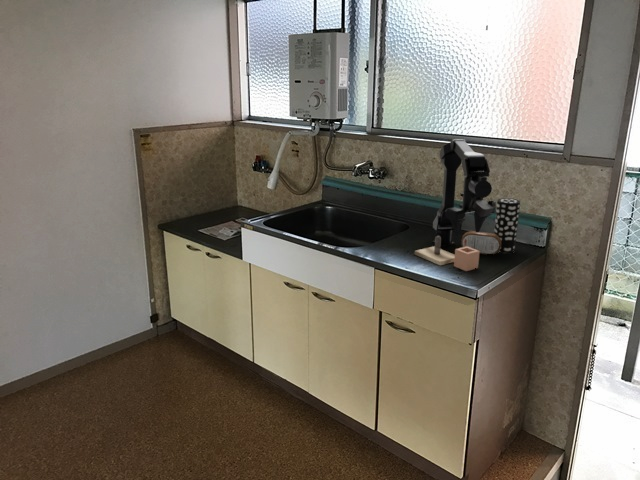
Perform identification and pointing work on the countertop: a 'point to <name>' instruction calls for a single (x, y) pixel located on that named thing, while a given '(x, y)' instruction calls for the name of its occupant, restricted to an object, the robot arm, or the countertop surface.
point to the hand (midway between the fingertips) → (468, 234)
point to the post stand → (436, 253)
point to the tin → (481, 242)
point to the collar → (466, 258)
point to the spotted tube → (507, 223)
